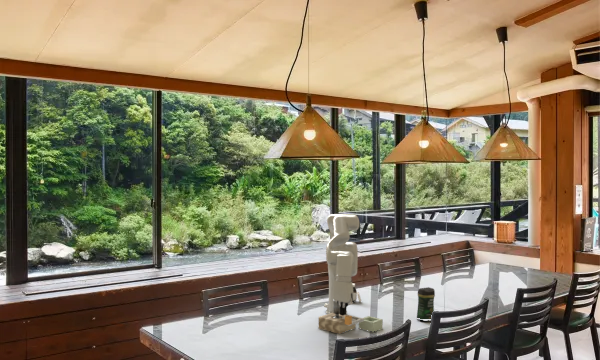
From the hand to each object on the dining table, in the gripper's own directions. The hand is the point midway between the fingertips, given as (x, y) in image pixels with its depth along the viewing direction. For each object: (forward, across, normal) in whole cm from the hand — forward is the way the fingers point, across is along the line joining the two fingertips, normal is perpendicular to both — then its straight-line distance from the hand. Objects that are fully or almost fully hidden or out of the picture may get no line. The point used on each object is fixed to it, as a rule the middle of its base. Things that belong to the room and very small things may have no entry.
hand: (343, 314), depth 245 cm
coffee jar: (+12, +16, +58) cm, 61 cm away
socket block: (+11, -10, +9) cm, 18 cm away
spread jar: (+13, -39, +63) cm, 75 cm away
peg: (+11, -10, +9) cm, 18 cm away
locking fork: (+5, 0, +5) cm, 7 cm away
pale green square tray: (+11, +3, +21) cm, 24 cm away
